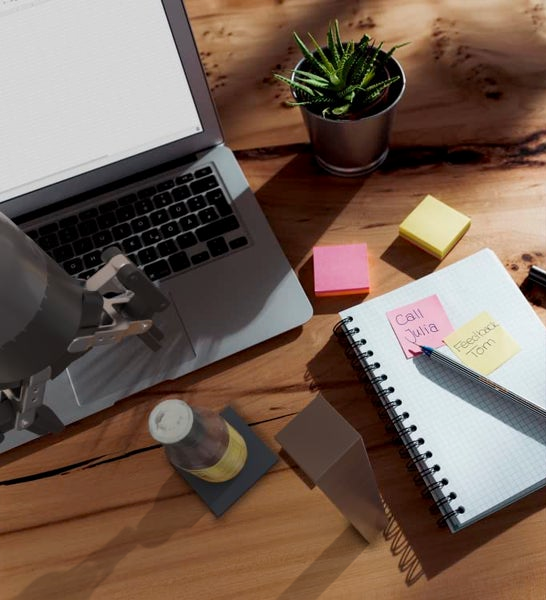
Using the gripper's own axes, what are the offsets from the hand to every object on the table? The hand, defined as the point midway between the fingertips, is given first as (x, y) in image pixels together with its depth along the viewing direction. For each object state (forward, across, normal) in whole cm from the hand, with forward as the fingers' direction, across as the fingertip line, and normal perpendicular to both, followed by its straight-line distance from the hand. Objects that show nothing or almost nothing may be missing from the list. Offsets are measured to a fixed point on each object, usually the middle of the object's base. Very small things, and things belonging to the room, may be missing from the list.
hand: (104, 381), depth 48 cm
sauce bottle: (+31, -1, +1) cm, 31 cm away
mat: (+31, -1, +1) cm, 31 cm away
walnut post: (+31, -8, +18) cm, 37 cm away
